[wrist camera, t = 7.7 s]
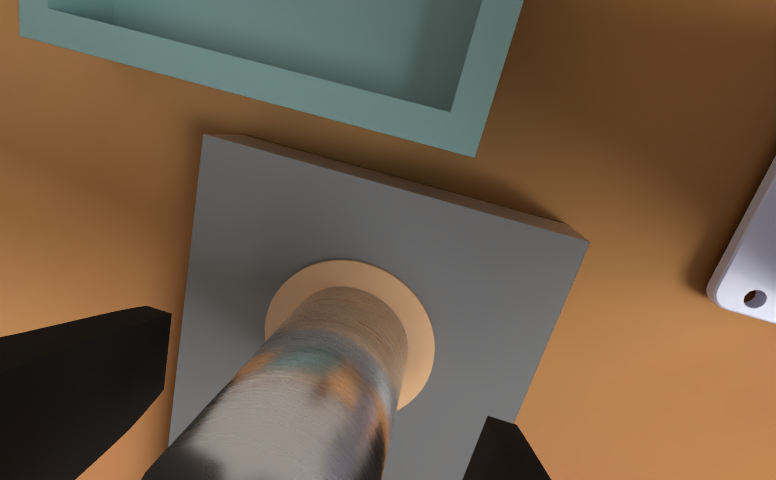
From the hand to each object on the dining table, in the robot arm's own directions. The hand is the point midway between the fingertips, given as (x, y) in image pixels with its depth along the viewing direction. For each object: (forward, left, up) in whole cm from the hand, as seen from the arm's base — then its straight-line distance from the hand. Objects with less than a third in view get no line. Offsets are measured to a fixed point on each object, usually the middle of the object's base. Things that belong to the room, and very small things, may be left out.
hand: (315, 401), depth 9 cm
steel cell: (0, 0, -2) cm, 2 cm away
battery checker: (0, +4, -5) cm, 6 cm away
